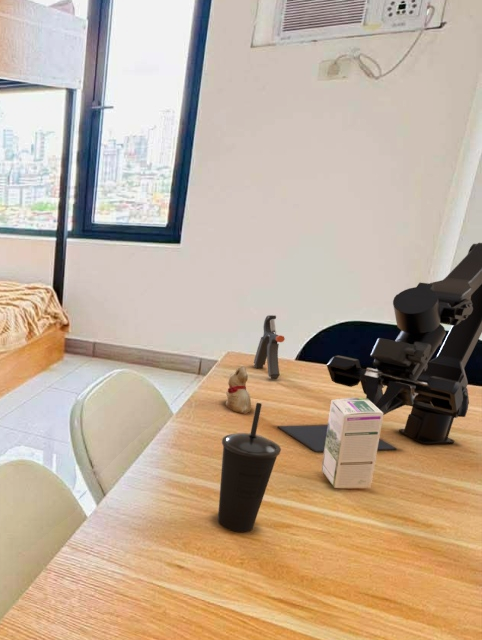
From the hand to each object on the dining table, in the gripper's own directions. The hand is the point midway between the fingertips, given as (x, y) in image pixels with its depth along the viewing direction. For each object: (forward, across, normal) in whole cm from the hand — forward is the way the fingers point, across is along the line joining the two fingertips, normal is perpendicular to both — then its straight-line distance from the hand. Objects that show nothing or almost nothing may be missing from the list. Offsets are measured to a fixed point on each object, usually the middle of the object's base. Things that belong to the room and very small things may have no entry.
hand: (366, 421), depth 106 cm
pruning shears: (-25, -40, +40) cm, 62 cm away
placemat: (-4, -10, +19) cm, 22 cm away
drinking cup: (+30, -2, -13) cm, 33 cm away
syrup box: (+9, 0, +6) cm, 11 cm away
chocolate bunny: (-4, -31, +19) cm, 37 cm away
